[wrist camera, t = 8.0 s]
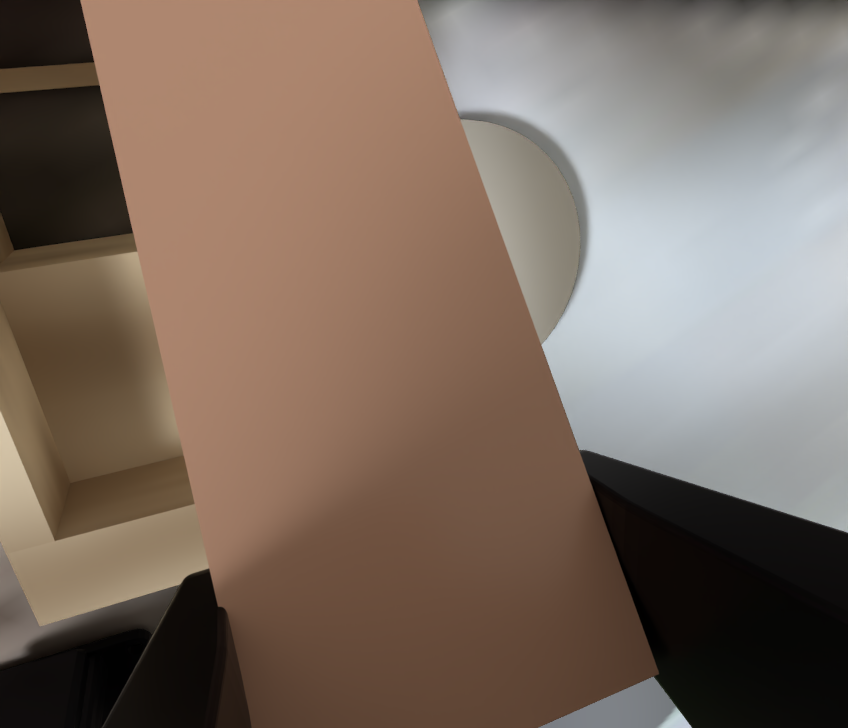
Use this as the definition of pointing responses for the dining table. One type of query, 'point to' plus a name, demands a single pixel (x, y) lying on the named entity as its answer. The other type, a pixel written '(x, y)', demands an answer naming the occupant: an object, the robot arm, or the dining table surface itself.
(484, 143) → the felt coaster
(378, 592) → the terracotta block
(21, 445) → the beech pocket board
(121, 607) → the dining table surface
